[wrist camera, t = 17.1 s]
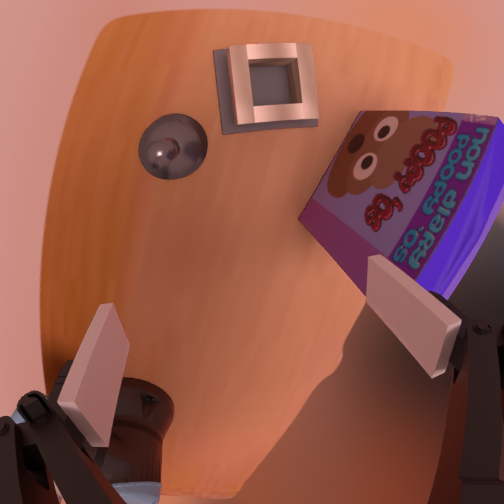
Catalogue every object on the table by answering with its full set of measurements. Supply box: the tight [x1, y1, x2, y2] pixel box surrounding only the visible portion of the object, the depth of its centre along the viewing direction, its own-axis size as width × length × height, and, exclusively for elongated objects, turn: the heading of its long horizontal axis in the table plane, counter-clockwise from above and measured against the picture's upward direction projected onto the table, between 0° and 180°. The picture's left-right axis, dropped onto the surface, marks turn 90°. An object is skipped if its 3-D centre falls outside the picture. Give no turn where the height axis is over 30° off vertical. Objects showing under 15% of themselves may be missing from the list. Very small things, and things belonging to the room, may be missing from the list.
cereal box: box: [299, 111, 504, 300], centre depth 29 cm, size 17×5×24 cm, turn 151°
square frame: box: [227, 43, 319, 125], centre depth 31 cm, size 9×9×5 cm
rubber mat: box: [213, 49, 318, 134], centre depth 34 cm, size 12×11×1 cm
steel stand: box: [139, 114, 208, 179], centre depth 30 cm, size 8×8×13 cm
